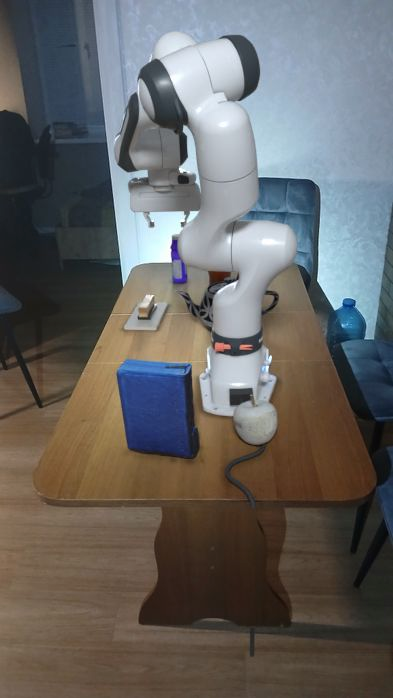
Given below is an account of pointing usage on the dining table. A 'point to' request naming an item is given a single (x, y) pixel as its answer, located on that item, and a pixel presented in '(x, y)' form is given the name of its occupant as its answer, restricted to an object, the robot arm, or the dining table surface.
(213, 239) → the robot arm
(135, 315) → the tile
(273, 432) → the decorative object
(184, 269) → the bottle
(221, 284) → the teapot
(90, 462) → the dining table surface
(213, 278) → the mug
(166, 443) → the book
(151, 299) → the brush
